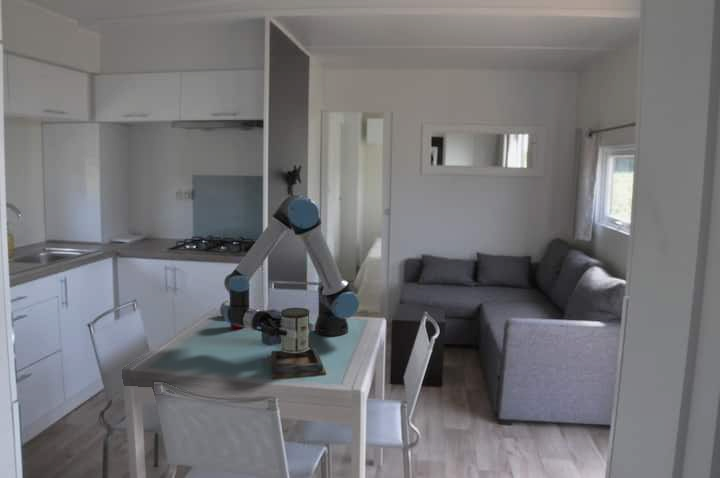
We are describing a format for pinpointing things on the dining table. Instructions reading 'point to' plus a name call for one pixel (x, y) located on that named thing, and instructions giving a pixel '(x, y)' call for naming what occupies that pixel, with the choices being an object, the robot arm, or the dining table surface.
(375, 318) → the dining table surface
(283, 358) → the tray
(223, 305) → the ceramic mug
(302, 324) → the coffee can
